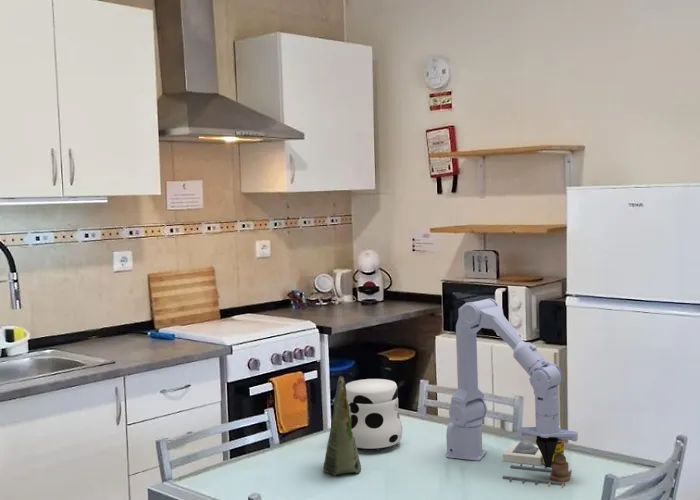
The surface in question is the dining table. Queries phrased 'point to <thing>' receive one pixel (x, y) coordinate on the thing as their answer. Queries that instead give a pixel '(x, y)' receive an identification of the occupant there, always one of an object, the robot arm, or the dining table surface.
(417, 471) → the dining table surface
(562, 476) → the pawn
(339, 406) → the green tall cone
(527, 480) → the track
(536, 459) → the housing
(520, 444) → the dome
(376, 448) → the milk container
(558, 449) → the supplement bottle
